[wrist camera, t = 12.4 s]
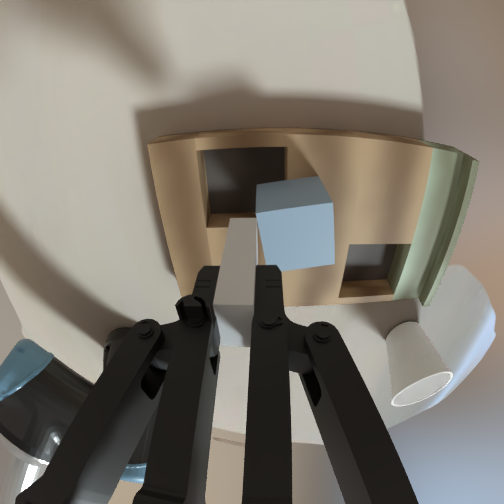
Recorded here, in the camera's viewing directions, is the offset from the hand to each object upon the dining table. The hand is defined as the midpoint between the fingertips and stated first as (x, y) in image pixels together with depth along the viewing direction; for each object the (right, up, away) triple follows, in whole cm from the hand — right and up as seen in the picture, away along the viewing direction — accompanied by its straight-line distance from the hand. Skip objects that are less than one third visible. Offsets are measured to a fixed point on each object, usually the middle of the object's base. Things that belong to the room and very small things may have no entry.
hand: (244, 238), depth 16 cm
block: (+4, +3, +7) cm, 8 cm away
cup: (+24, -13, +21) cm, 35 cm away
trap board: (+7, +2, +11) cm, 13 cm away
